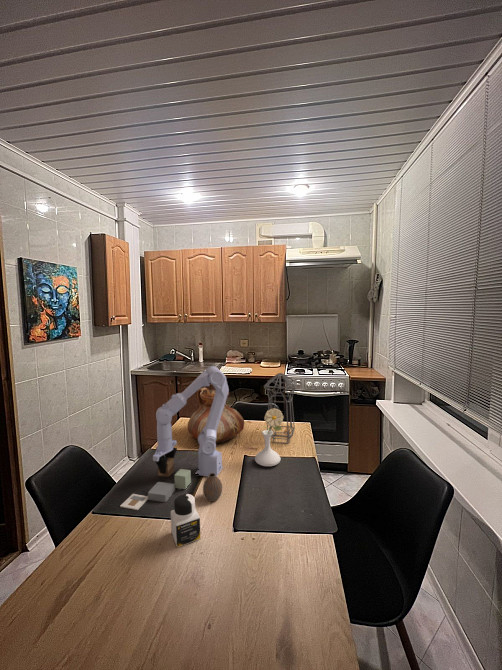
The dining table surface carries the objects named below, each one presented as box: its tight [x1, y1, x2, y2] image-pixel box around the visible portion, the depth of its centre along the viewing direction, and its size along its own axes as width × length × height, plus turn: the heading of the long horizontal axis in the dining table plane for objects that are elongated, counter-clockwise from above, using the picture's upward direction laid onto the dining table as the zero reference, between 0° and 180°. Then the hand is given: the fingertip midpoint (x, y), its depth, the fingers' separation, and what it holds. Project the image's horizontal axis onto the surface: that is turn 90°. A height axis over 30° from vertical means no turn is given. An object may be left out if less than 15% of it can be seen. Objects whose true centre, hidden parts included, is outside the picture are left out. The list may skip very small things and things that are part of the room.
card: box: [119, 493, 149, 511], centre depth 107 cm, size 7×7×1 cm
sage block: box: [173, 468, 192, 490], centre depth 116 cm, size 4×4×6 cm
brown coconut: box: [202, 473, 223, 502], centre depth 109 cm, size 7×7×9 cm
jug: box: [187, 387, 245, 444], centre depth 160 cm, size 30×30×25 cm
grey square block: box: [147, 481, 176, 503], centre depth 111 cm, size 7×7×3 cm
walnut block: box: [157, 457, 175, 478], centre depth 121 cm, size 4×4×6 cm
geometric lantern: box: [263, 372, 297, 444], centre depth 155 cm, size 16×16×35 cm
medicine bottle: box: [170, 493, 201, 548], centre depth 90 cm, size 7×7×12 cm
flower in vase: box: [254, 407, 284, 467], centre depth 132 cm, size 13×11×25 cm
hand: (166, 469), depth 121 cm, fingers closed on walnut block, 4 cm apart
